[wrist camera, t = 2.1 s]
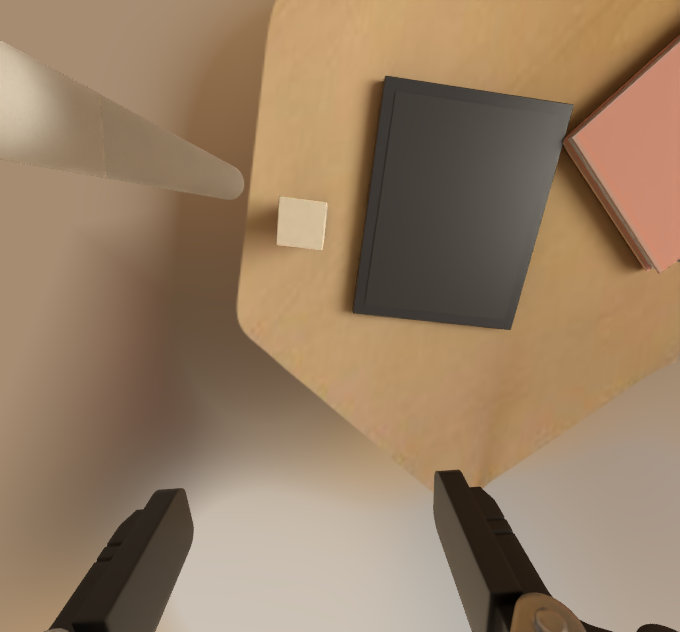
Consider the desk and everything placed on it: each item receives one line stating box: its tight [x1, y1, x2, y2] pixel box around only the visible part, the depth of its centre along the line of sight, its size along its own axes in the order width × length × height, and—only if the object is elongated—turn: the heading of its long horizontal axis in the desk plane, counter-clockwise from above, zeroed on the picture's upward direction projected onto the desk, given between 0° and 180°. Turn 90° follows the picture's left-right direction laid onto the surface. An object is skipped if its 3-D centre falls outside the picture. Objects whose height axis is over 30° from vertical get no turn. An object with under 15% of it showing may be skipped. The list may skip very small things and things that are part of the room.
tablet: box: [353, 76, 574, 330], centre depth 30 cm, size 16×20×1 cm
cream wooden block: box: [276, 196, 328, 250], centre depth 26 cm, size 3×3×10 cm
